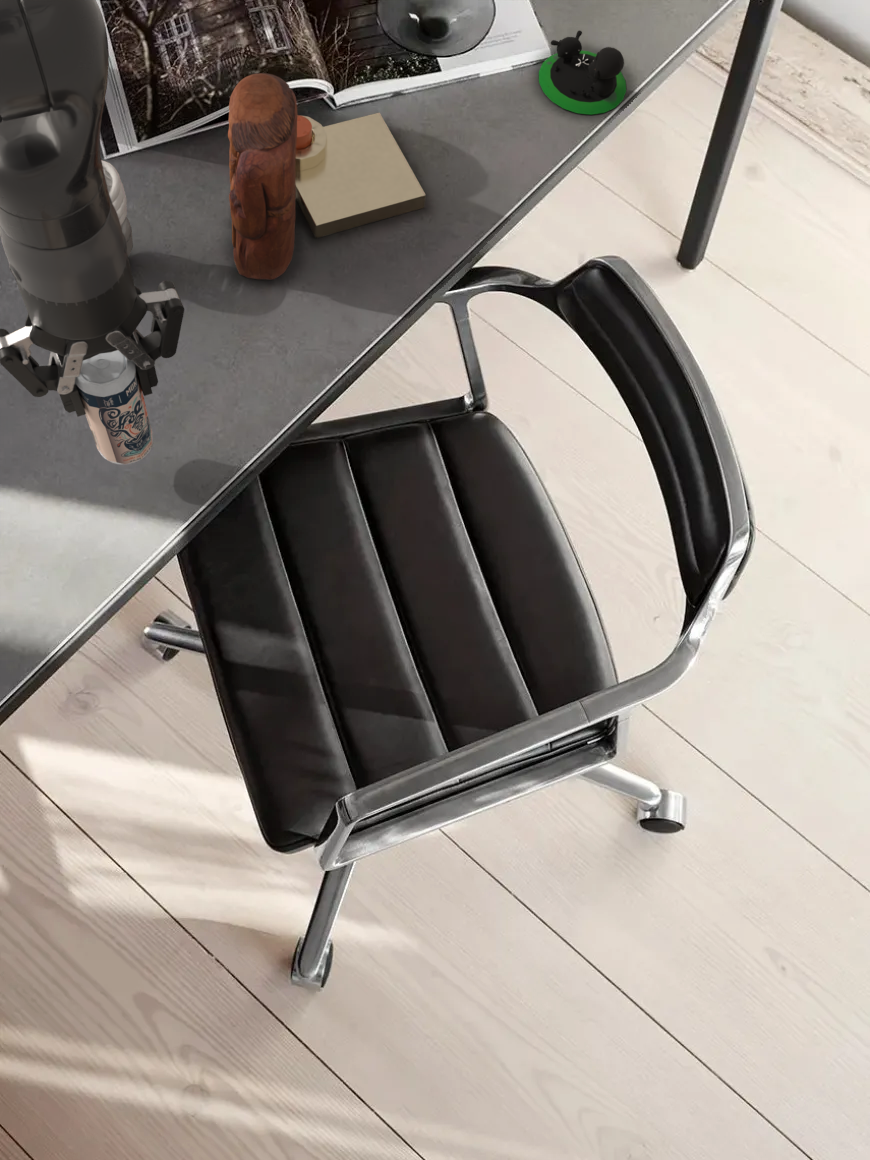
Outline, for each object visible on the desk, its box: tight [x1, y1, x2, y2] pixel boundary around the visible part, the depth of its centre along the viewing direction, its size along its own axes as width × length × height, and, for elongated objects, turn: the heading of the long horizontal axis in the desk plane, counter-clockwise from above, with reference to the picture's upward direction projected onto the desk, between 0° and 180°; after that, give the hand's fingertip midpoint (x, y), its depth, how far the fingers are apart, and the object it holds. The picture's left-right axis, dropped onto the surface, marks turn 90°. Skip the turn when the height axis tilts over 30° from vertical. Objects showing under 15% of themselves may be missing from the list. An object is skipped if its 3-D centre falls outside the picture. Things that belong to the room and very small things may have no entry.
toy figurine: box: [538, 30, 627, 116], centre depth 123 cm, size 10×10×6 cm
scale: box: [295, 112, 427, 239], centre depth 115 cm, size 13×13×4 cm
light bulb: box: [101, 159, 134, 257], centre depth 104 cm, size 6×6×12 cm
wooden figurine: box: [227, 72, 298, 280], centre depth 104 cm, size 12×6×18 cm, turn 179°
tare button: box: [296, 114, 312, 150], centre depth 113 cm, size 3×3×2 cm
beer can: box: [75, 350, 154, 466], centre depth 91 cm, size 5×5×12 cm
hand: (111, 395), depth 90 cm, fingers closed on beer can, 4 cm apart
